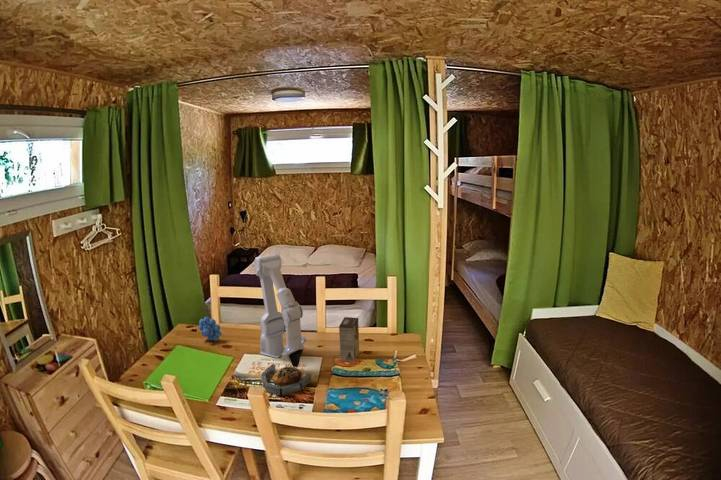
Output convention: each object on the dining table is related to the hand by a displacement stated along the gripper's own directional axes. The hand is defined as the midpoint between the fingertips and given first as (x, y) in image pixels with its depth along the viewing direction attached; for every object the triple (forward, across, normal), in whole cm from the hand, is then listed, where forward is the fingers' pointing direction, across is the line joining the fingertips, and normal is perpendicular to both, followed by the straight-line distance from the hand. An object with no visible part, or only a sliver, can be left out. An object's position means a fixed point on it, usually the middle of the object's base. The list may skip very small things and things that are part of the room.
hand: (295, 365), depth 140 cm
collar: (+2, -9, 0) cm, 10 cm away
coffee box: (+2, +18, -16) cm, 24 cm away
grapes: (+2, +6, +51) cm, 51 cm away
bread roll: (+2, -6, 0) cm, 6 cm away
